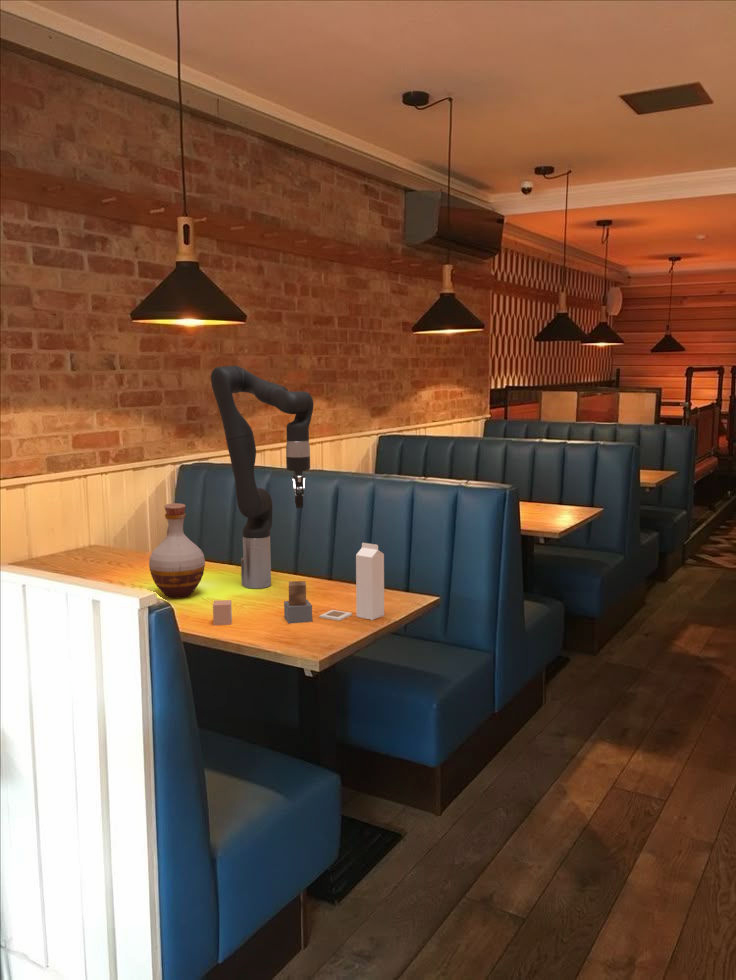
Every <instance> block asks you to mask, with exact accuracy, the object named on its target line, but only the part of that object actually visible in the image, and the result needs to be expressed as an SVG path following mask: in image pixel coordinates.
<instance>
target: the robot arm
mask: <svg viewBox="0 0 736 980" xmlns="http://www.w3.org/2000/svg"><path fill="white" fill-rule="evenodd" d="M210 382H211V387H212V391H213V392H212V393H213V394H214V395H213V396H214V398H215V400H216V403H217V404H216V405H217V407H218V410H219V415H220V418H221V421H222V426H223V430H224V434H225V441H226V446H227V450H228V453H229V458H230V465H231V468H232V472H233V477H234V478H233V479H234V485H235V494H236V495H235V496H236V502H237V503H236V504H237V507H238V510H239V512H240V514H241V515H242V516H243V517H245V518H247V520H246V524H245V525H244V527H243V528H242V555H243V557H241V559H240V571H241V575H240V576H241V586H243V587H245V588H247V589H264V588H269V587H271V586H272V563H271V561H272V560H271V559H272V558H271V529H272V526H273V499H272V496H271V493H269V491H267V490H266V489H264V488H261V487H257V483H256V479H255V466H256V465H255V464H256V458H257V448H256V447H257V446H256V441H255V437H254V431H253V429H252V427H251V425H250V424H249V422H248V421H247V419H245V418H244V416H243V415H242V414H241V412H240V411H239V409H238V408H237V406H236V403H235V400H234V396H233V394H237V393H247V394H252V395H254V396H255V398H256V399H257V400H258V401H260V402H262V403H264V404H266V405H269V406H272V407H275V408H276V409H278V410H279V411H281V412H282V413H284V414H287V415H294V419H293V420H292V421H290V422H288V423H287V425H286V445H285V457H286V458H285V459H286V461H285V463H286V471H289V472H290V471H291V472H293V475H291V478H292V479H291V481H292V487H293V491H294V503H295V507H296V509H302V508H304V495H305V492H304V490H305V488H306V487H305V482H306V476H305V475H303V472H305V471H306V472H307V471H310V470H311V445H310V431H309V429H310V424H311V421H312V420H311V419H312V416H313V413H314V400H313V399H314V398H313V396H312V395H311V394H310V393H309V392H307V391H301V390H300V391H299V390H298V391H290V390H288V389H287V388H286V386H285V387H284V386H283V385H281V384H278V383H274V382H272V381H271V382H270V381H267V380H265V379H263V378H260V377H259V376H257V375H255V374H253V373H251V372H249V371H248V370H246V369H245V368H243V367H241V366H238V365H226V366H225V365H224V366H216V367H215V368H214V369H213V370H212V371H211V374H210Z"/></svg>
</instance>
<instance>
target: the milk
mask: <svg viewBox="0 0 736 980" xmlns="http://www.w3.org/2000/svg"><path fill="white" fill-rule="evenodd" d="M355 580H356V582H355V583H356V584H355V590H356V592H355V593H356V594H355V595H356V597H355V600H356V603H355V604H356V607H355V608H356V617H357V618H361V619H366V620H369V619H370V621H374V620H376V619H379V618H382V617H384V616H385V553H383V552H382V551H380V550H379V544H374V543H368V542H362V543H361V548H360V549H359V550H358V551H357V553H356V555H355Z"/></svg>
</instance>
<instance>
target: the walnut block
mask: <svg viewBox="0 0 736 980" xmlns="http://www.w3.org/2000/svg"><path fill="white" fill-rule="evenodd" d="M306 599H307V581H306V580H299V581H297V580H293V581H291V580H290V581H288V601H289V606H301V605H306Z"/></svg>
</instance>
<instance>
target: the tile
mask: <svg viewBox="0 0 736 980" xmlns="http://www.w3.org/2000/svg"><path fill="white" fill-rule="evenodd" d="M352 615H353V612H348V611H342V610H335V609H331V610H329V611H326V612H325V613H322V614H320V615H319V618H320V619H327V620H332V621H337V622H338V621H343V620H345V619H347V618H348V617H351V616H352Z"/></svg>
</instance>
